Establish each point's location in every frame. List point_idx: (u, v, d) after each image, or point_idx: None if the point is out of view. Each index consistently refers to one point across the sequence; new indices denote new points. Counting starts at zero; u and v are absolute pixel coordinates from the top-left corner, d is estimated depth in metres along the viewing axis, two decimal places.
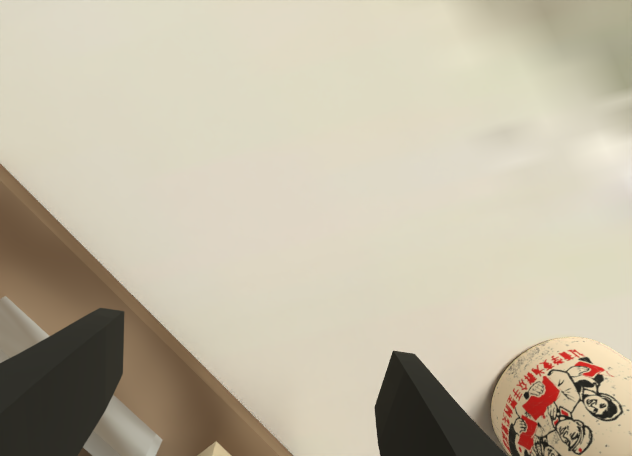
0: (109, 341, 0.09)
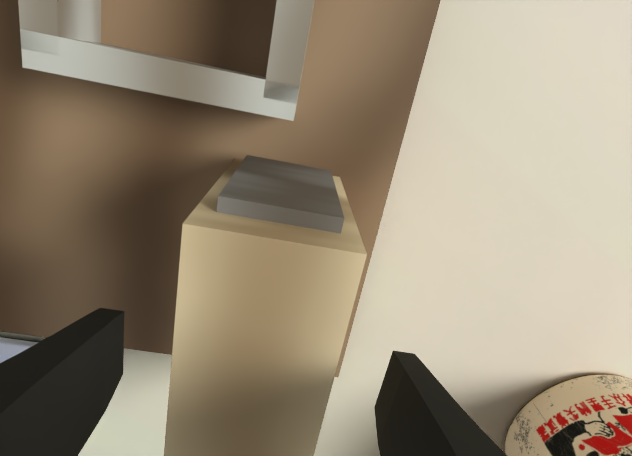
0: (109, 342, 0.09)
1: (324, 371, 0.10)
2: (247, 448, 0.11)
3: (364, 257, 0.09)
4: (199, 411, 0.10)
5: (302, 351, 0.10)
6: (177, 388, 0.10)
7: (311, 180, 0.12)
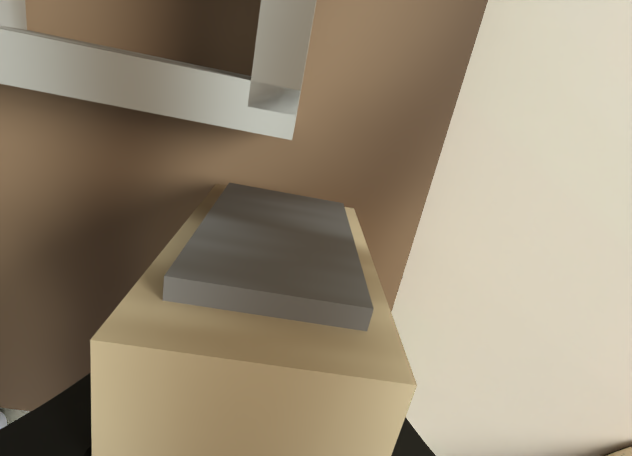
0: None
1: None
2: None
3: (412, 389, 0.05)
4: None
5: None
6: None
7: (317, 224, 0.09)
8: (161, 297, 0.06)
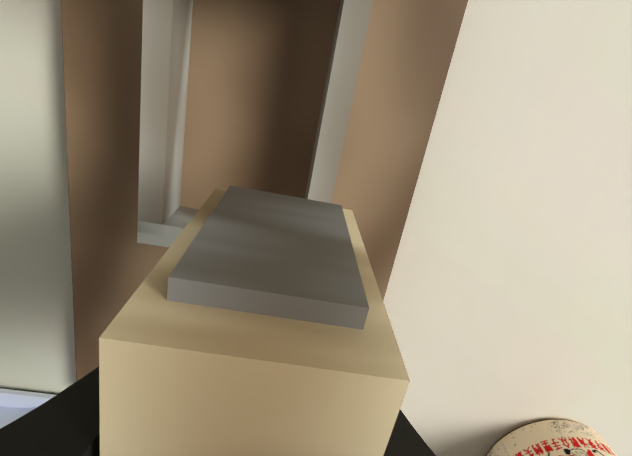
0: None
1: None
2: None
3: (405, 385, 0.05)
4: None
5: None
6: None
7: (316, 226, 0.09)
8: (165, 297, 0.06)
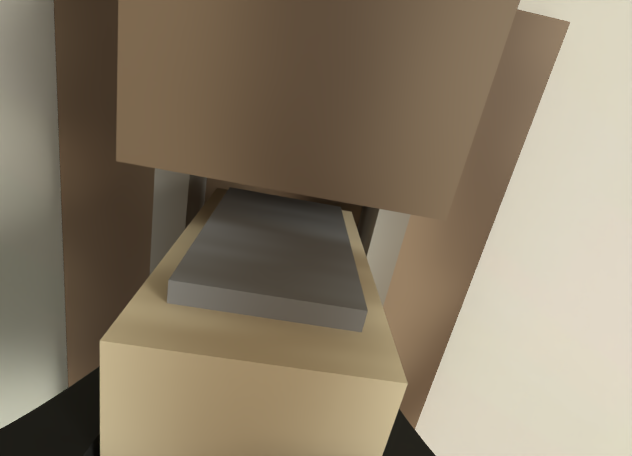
0: None
1: None
2: None
3: (403, 387, 0.05)
4: None
5: None
6: None
7: (315, 228, 0.09)
8: (165, 300, 0.06)
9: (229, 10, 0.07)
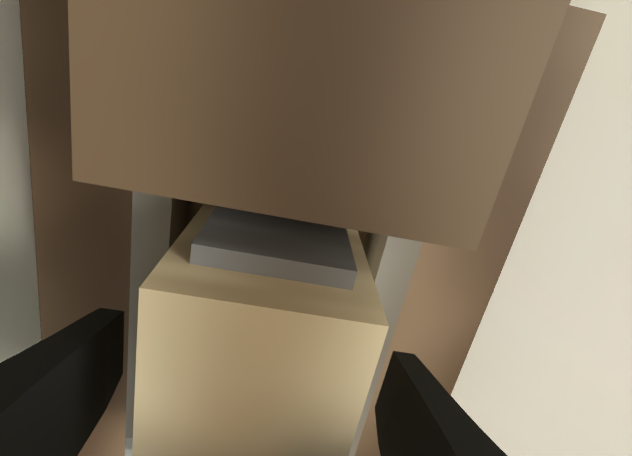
0: (109, 342, 0.09)
1: None
2: None
3: (385, 330, 0.06)
4: None
5: (302, 443, 0.07)
6: None
7: None
8: (188, 261, 0.07)
9: None
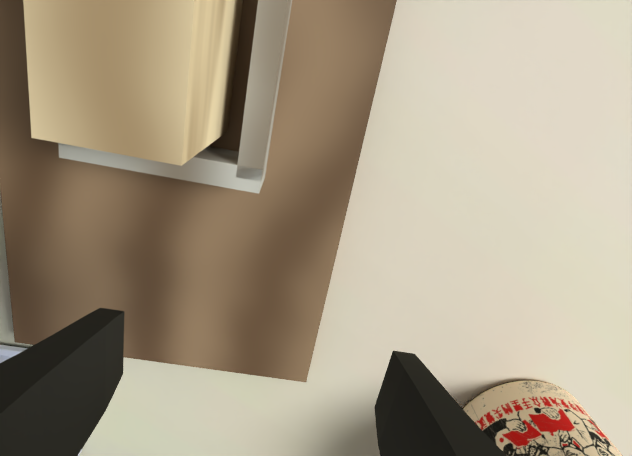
0: (109, 342, 0.09)
1: None
2: (116, 85, 0.10)
3: None
4: (58, 27, 0.10)
5: None
6: None
7: None
8: None
9: None
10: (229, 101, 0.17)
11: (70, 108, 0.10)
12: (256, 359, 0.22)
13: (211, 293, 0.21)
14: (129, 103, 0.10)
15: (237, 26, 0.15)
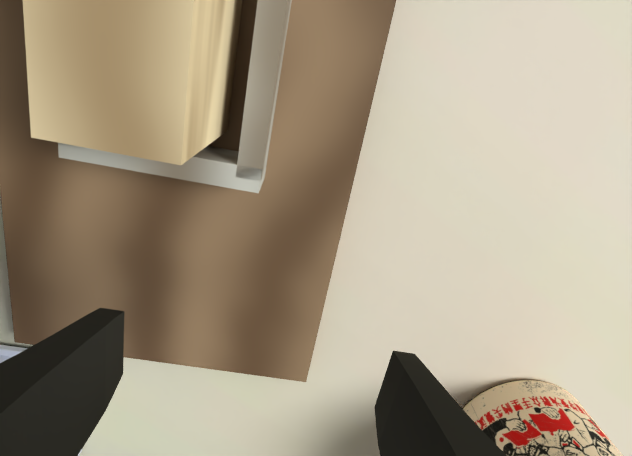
0: (109, 342, 0.09)
1: None
2: (115, 85, 0.10)
3: None
4: (57, 27, 0.10)
5: None
6: None
7: None
8: None
9: None
10: (229, 101, 0.17)
11: (69, 108, 0.10)
12: (256, 359, 0.22)
13: (211, 293, 0.21)
14: (129, 103, 0.10)
15: (237, 26, 0.15)
